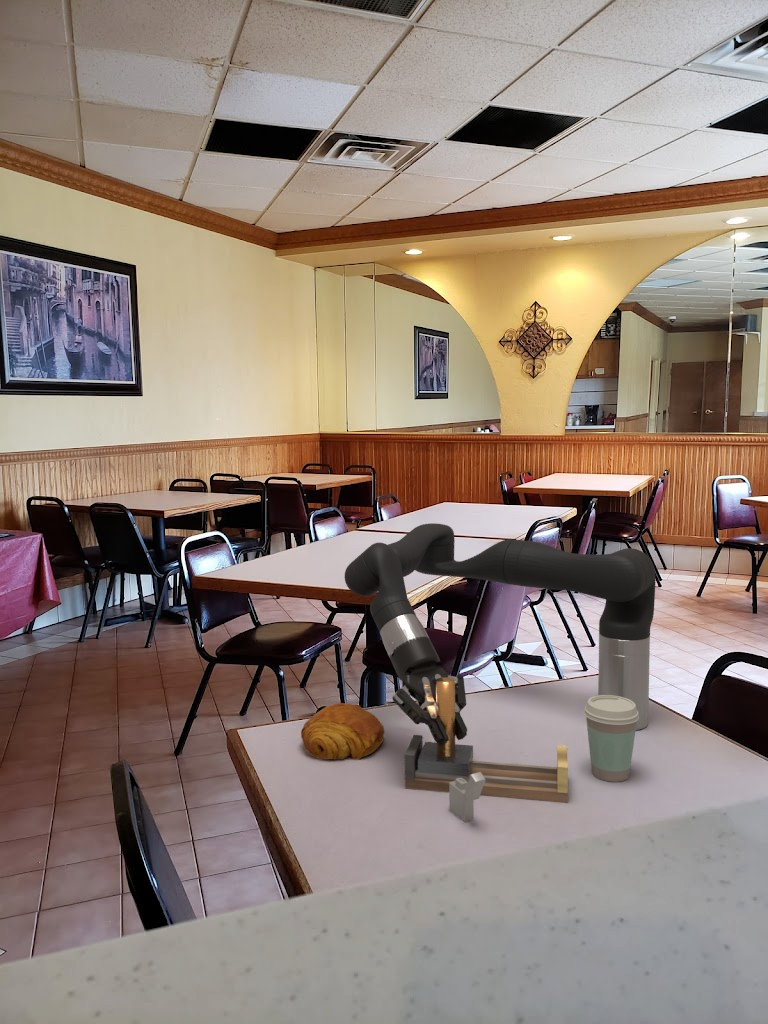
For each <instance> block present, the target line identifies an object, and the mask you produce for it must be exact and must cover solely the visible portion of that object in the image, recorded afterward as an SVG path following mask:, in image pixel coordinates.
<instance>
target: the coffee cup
mask: <svg viewBox="0 0 768 1024" xmlns="http://www.w3.org/2000/svg"><path fill="white" fill-rule="evenodd" d="M583 714H584V716H585V718H586V728H587V738H588V747H589V756H590V766H591V774H592V775H593V776H594V777H596V778H597V779H599V780H602V781H604V782H605V781H606V782H611V783H617V782H623V781H626V780H628V779H629V777H630V773H631V771H630V770H631V764H632V757H633V753H634V752H633V750H634V743H635V736H636V731H637V730H636V724H637V720H638V719H639V715H638V711H637V709H636V705H635V703H634V702H633V701H631V700H629V699H627V698H624V697H620V696H613V695H599V696H598V695H595V696H591V697H589V698H588V700H587V703H586V705H585V706H584V710H583Z"/></svg>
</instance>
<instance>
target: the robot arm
mask: <svg viewBox="0 0 768 1024" xmlns="http://www.w3.org/2000/svg"><path fill="white" fill-rule="evenodd" d="M413 572H418V573H420V574H424V575H431V576H432V575H433V576H441V577H453V578H454V577H455V578H465V579H466V578H467V579H476V580H483V581H489V582H495V583H500V584H504V585H505V584H506V585H513V586H520V587H526V588H536V589H544V590H545V589H546V590H558V591H559V590H560V591H567V592H568V591H569V592H575V593H580V594H583V595H587V596H591V597H595V598H598V599H603V600H605V605H604V609H603V611H602V614H601V616H600V618H599V621H598V676H597V677H598V682H597V683H598V687H597V688H598V691H597V694H598V695H597V696H599V695H613V696H620V697H624V698H627V699H629V700H631V701H633V702H634V703H635V705H636V709H637V711H638V715H639V719H638V720H637V724H636V731H637V730H638V731H639V730H642V729H644V728H646V727H648V725H649V703H650V700H649V698H650V697H649V695H650V658H651V657H650V655H651V654H650V652H651V651H650V649H651V648H650V646H651V645H650V644H651V643H650V642H651V626H652V622H653V620H654V616H655V615H654V614H655V600H656V597H655V596H656V570H655V566H654V563H653V561H652V559H651V558H650V557H649V556H648V554H646V553H645V552H643V551H642V550H640V549H636V548H630V547H628V548H622V549H619V550H617V551H614V552H611V553H607V554H606V553H605V554H589V553H588V554H584V553H583V554H582V553H574V552H568V551H565V550H561V549H560V548H559V549H558V548H556V547H555V546H551V545H548V544H545V543H542V542H537V541H530V540H521V539H511V538H510V539H508V538H507V539H503V540H501V541H499V542H496V543H495V544H492V545H490V547H488V548H486V549H485V550H484V549H483V551H481V552H480V553H478V554H476V555H474V556H472V557H470V558H466V559H465V560H462V561H459V560H455V532H454V529H453V528H452V527H451V526H449V525H448V524H443V523H435V522H434V523H424V524H420V525H418V526H415V527H413V529H412V530H410V531H409V532H408V533H407V534H405V535H404V536H403V537H401V538H400V539H399V540H397V541H395V542H391V543H388V544H386V543H383V542H374V543H373V544H371V545H370V546H368V547H367V548H366V549H365V550H364V551H363V552H361V553H360V554H359V555H358V556H357V557H355V559H354V560H352V561H351V562H350V563H349V564H348V566H347V567H346V568H345V571H344V581H345V582H344V583H345V584H346V585H345V586H346V587H347V588H348V589H349V591H351V592H352V593H353V594H355V595H357V596H360V597H371V596H373V595H375V596H374V598H373V599H372V601H371V602H370V604H369V611H370V614H371V617H372V618H373V621H374V623H375V625H376V627H377V629H378V632H379V634H380V637H381V640H382V644H383V645H384V648H385V650H386V652H387V656H388V657H389V659H390V661H391V664H392V666H393V668H394V670H395V674H396V675H397V677H398V679H399V680H400V681H401V682H402V683H401V687H400V688H398V689H397V690H396V692H395V693H394V694H393V696H392V701H393V703H395V704H396V705H397V706H398V707H399V708H400V710H402V712H403V713H404V714H405V715H407V717H408V718H409V719H410V720H411V721H412V722H413V723H414V724H415V725H419V724H425V725H426V726H427V727H428V729H429V731H430V734H431V736H432V737H433V740H434V742H435V743H439V745H440V746H441V745H444V744H446V743H447V742H448V740H449V738H448V735H447V733H446V731H445V729H444V727H443V725H442V723H441V721H440V718H438V719H437V718H436V717H437V714H436V708H435V704H436V679H438V678H443V677H448V678H452V679H454V680H455V738H456V739H457V740H458V741H460V740H463V739H464V738H465V737H466V736H468V735H467V734H468V733H467V732H468V727H467V725H466V723H465V721H464V719H463V717H462V715H461V712H462V710H463V709H464V708H465V707H467V696H466V695H467V694H466V687H465V679H464V675H462V674H460V673H459V674H457V675H456V676H453V675H449V674H448V672H447V671H445V670H444V669H443V667H442V665H441V659H440V656H439V654H438V653H437V650H436V649H435V647H434V645H433V643H432V641H431V639H430V637H429V635H428V633H427V631H426V628H425V626H424V625H423V624H422V622H421V621H420V619H419V618H418V616H417V614H416V612H415V610H414V608H413V606H412V604H411V602H410V601H409V598H408V595H407V589H406V584H405V579H404V578H405V577H407V576H409V575H411V574H412V573H413ZM376 593H377V594H376Z"/></svg>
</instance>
